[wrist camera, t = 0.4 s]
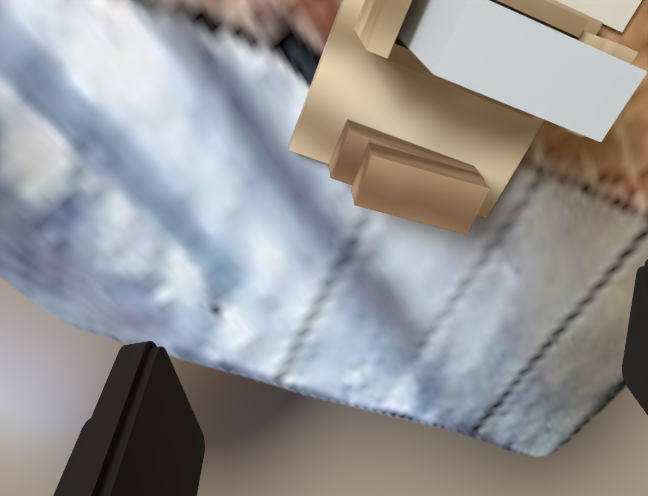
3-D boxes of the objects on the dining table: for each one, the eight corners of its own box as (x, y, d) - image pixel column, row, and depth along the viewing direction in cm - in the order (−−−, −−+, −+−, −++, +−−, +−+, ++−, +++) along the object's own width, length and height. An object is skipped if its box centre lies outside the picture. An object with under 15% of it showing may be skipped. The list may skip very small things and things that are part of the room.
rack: (372, -84, 32) (394, -88, 25) (594, 19, 35) (668, 42, 28) (289, 144, 39) (287, 192, 32) (481, 211, 42) (518, 268, 35)
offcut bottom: (347, 118, 37) (350, 130, 35) (474, 166, 39) (484, 179, 37) (328, 163, 38) (330, 177, 36) (451, 206, 40) (460, 222, 38)
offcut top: (368, 141, 35) (372, 155, 33) (478, 173, 36) (489, 188, 34) (351, 188, 37) (354, 205, 34) (457, 217, 38) (467, 234, 36)
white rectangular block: (416, -28, 32) (472, -8, 22) (542, 29, 34) (647, 71, 24) (391, 30, 34) (433, 74, 24) (513, 81, 36) (600, 142, 26)
